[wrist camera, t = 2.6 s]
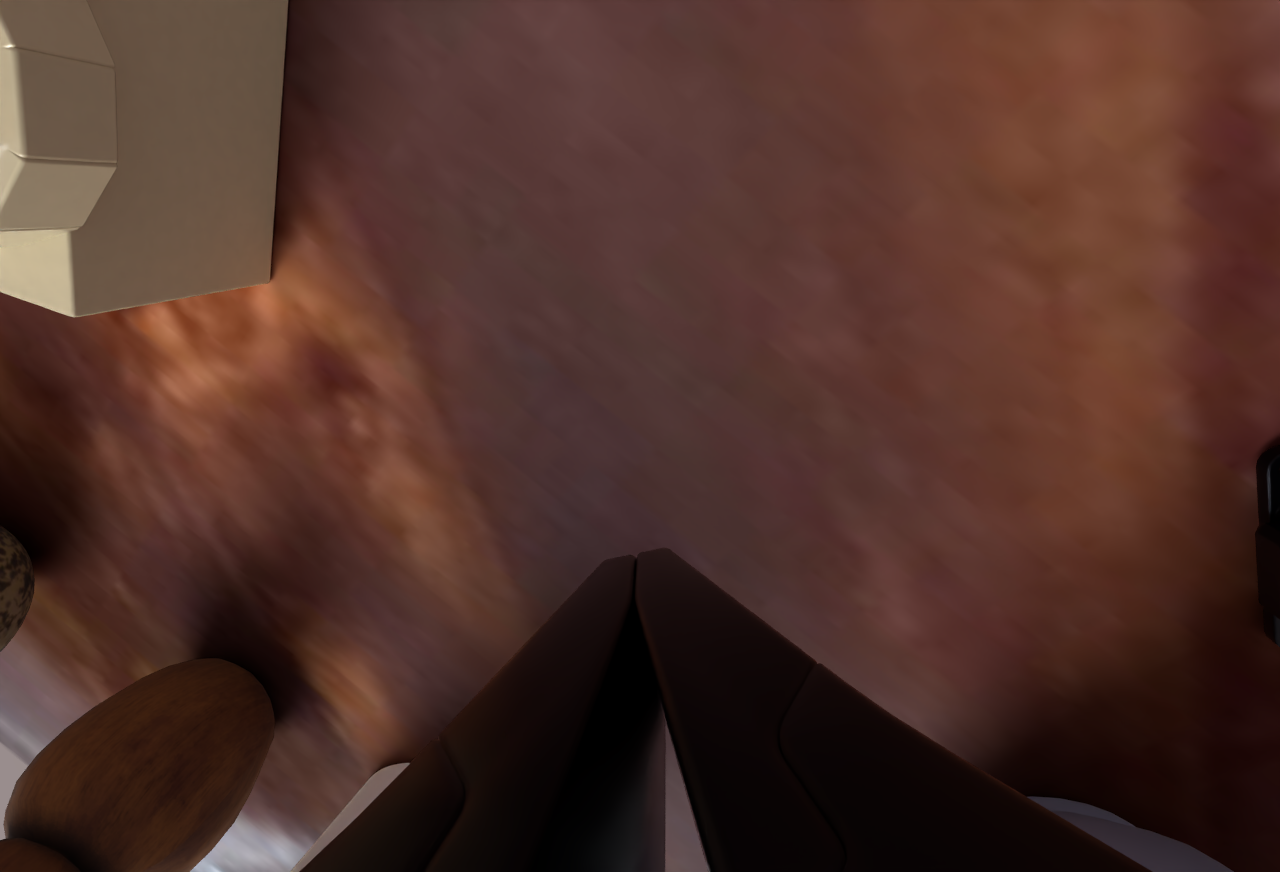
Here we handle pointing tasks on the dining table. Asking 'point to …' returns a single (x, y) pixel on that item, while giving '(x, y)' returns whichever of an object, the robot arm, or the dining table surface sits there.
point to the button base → (137, 149)
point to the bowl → (1132, 838)
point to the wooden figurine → (143, 775)
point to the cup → (353, 810)
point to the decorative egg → (13, 585)
